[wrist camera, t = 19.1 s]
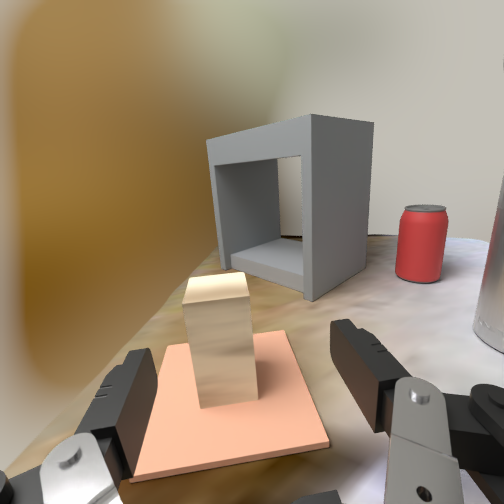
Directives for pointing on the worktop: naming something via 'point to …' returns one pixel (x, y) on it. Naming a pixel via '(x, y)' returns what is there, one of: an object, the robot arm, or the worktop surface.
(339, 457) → the worktop surface
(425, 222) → the beer can
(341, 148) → the box
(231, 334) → the maple block
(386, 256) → the worktop surface
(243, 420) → the terracotta mat
